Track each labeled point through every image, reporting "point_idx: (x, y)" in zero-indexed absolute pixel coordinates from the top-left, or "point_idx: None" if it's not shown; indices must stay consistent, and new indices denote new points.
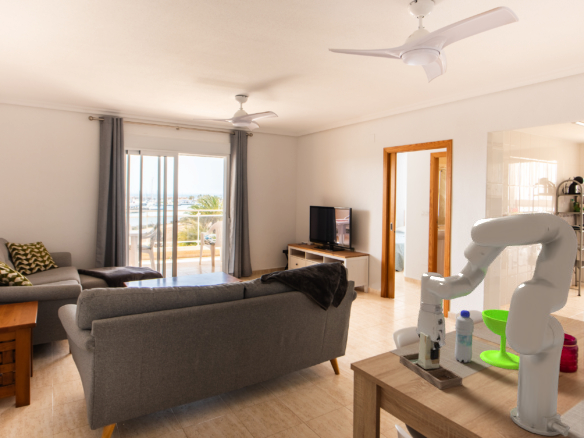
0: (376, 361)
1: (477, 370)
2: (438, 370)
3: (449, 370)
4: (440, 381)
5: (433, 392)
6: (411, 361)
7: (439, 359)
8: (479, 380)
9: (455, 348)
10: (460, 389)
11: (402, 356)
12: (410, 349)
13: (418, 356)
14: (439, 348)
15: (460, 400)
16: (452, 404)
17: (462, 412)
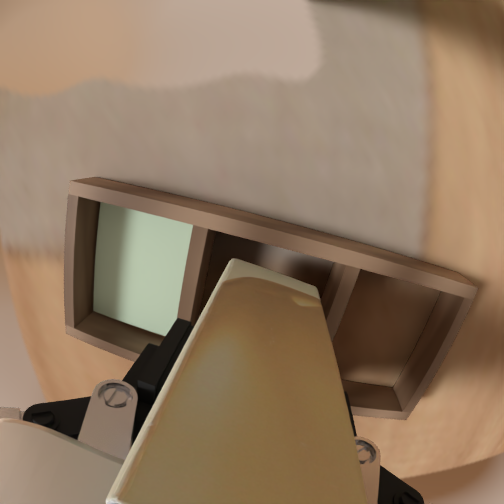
0: (58, 382)
1: (415, 16)
2: (337, 327)
3: (389, 266)
4: (404, 415)
5: (384, 428)
6: (108, 271)
7: (324, 317)
8: (489, 138)
9: None
10: (464, 320)
11: (77, 332)
12: (11, 127)
13: (90, 200)
14: (370, 453)
15: (478, 388)
16: (460, 425)
17: (488, 427)
